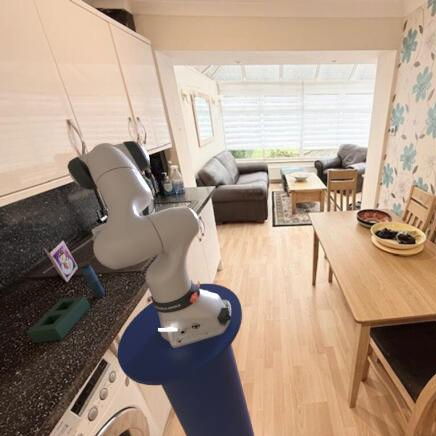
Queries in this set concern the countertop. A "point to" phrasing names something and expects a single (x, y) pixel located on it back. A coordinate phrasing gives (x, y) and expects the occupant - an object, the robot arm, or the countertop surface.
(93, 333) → the countertop surface
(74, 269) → the greeting card
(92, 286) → the handle
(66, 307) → the holder
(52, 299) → the countertop surface
